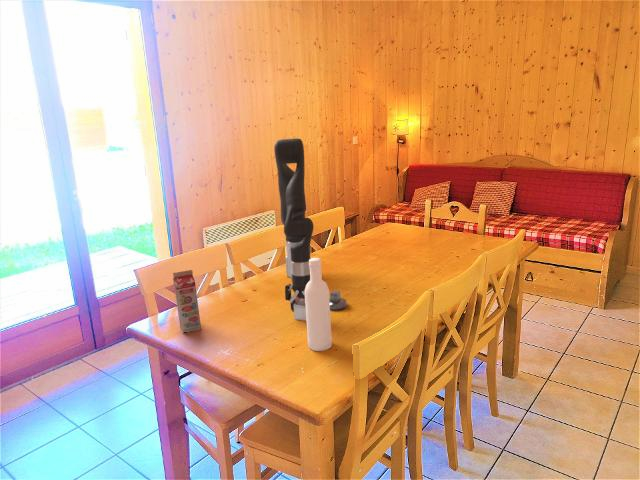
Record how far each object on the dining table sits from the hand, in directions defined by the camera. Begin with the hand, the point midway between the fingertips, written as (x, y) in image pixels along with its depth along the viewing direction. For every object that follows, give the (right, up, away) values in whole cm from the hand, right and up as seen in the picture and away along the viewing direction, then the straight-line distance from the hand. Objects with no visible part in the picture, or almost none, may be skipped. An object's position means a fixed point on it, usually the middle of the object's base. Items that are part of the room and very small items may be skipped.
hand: (304, 312), depth 182 cm
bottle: (+6, -8, -21) cm, 24 cm away
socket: (0, -2, 0) cm, 2 cm away
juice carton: (-42, -5, -3) cm, 42 cm away
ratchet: (+5, +2, +12) cm, 13 cm away
